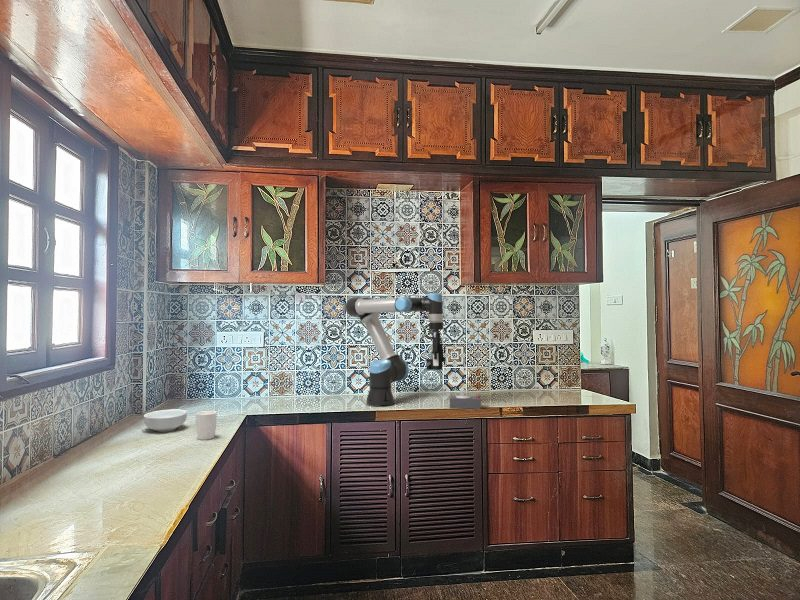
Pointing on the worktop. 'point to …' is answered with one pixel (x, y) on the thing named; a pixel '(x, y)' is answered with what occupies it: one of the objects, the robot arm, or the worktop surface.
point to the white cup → (206, 424)
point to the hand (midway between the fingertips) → (437, 364)
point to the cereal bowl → (165, 419)
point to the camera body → (465, 402)
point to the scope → (440, 359)
